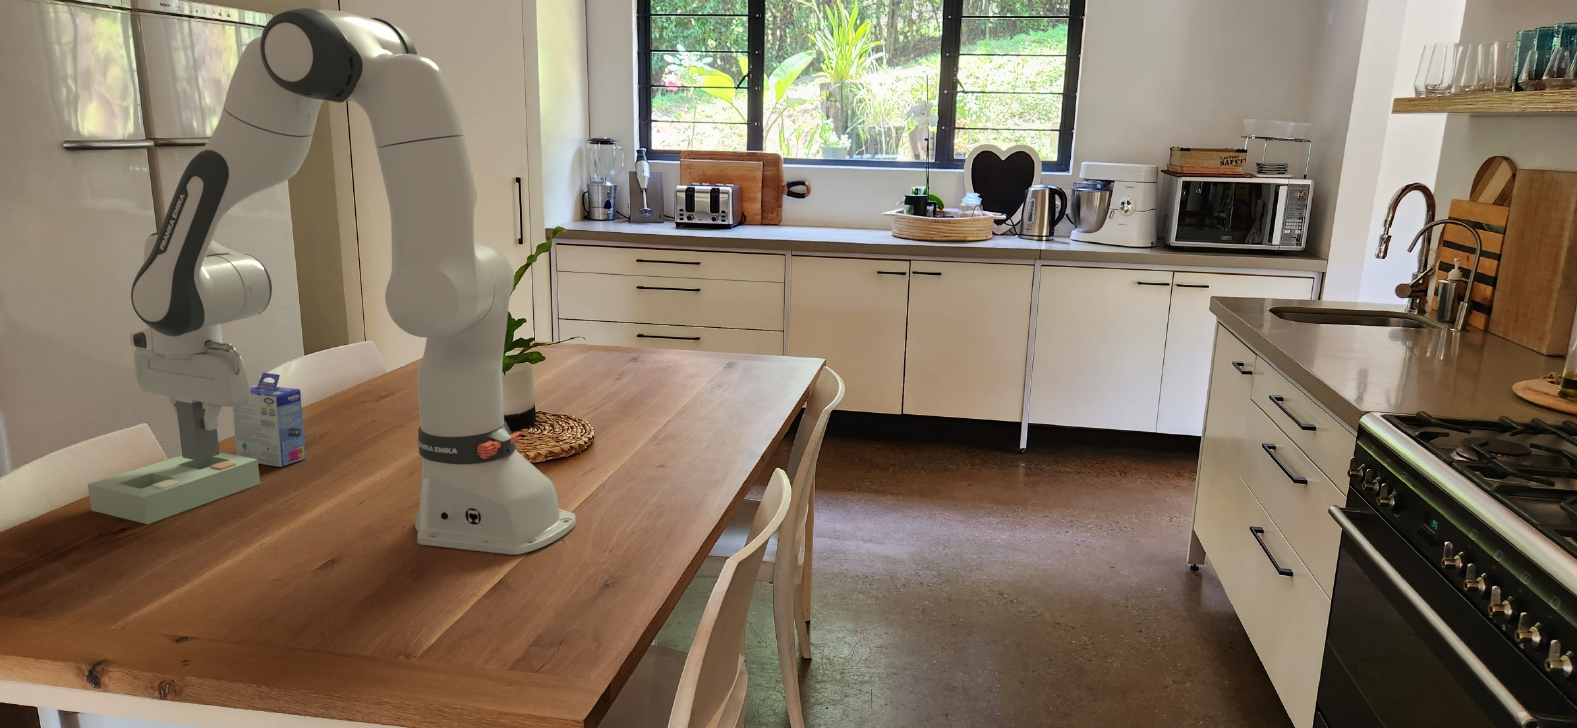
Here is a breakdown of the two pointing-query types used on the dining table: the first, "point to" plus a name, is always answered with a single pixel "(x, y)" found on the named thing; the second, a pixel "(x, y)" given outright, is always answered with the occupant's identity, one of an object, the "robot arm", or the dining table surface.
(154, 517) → the socket board
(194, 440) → the plug
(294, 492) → the dining table surface
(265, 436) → the ink cartridge box
